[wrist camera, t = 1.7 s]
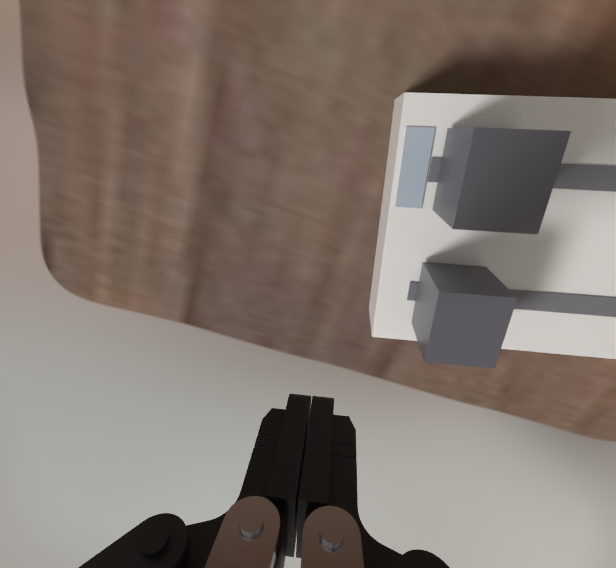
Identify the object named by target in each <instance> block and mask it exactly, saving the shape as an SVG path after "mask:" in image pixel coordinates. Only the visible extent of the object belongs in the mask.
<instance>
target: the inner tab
mask: <svg viewBox="0 0 616 568" xmlns="http://www.w3.org/2000/svg"><path fill="white" fill-rule="evenodd" d="M570 134H571V131H559V130H533V129H507V128H481V127H467V128H448V129H447V134H446V140H445V145H444V150H443V156H442V161H441V166H440V172H439V177H438V182H437V188H436V193H435V199H434V204H433V209H432V210H433V211H434V212H435V213H436V214H437V215H438V216H439V217H441V218H442V219H443V220H444V221H445V222H446V223H447V224H448V225H449V226H450V227H451V228H452V229H458V230H474V231H490V232H506V233H522V234H538V233H539V230H540V227H541V223H542V220H543V217H544V214H545V211H546V208H547V205H548V202H549V199H550V196H551V193H552V189H553V186H554V183H555V180H556V177H557V174H558V171H559V168H560V165H561V162H562V158H563V155H564V152H565V149H566V146H567V143H568V140H569V137H570Z"/></svg>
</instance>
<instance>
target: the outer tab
mask: <svg viewBox="0 0 616 568" xmlns="http://www.w3.org/2000/svg"><path fill="white" fill-rule="evenodd" d="M516 301H517V297H516V296H515V295H514V294H513V293H512V292H511V291H510V290H509V289H508V288H507V287H506V286H505V285H504V284H503V283H502V282H501V281H500V280H499V279H498V278H497V277H496V276H495V275H494V274H493V273H492V272H491V271H490V270H489V269H488V268H487V267H485V266H471V265H457V264H443V263H429V262H423V263H422V268H421V274H420V279H419V284H418V290H417V295H416V300H415V306H414V311H413V317H412V326H413V329H414V332H415V335H416V338H417V341H418V344H419V347H420V350H421V354H422V357H423V360H424V362H433V363H443V364H454V365H464V366H475V367H485V368H495V366H496V363H497V360H498V357H499V353H500V350H501V347H502V344H503V341H504V338H505V335H506V332H507V329H508V326H509V323H510V319H511V316H512V313H513V310H514V307H515V304H516Z"/></svg>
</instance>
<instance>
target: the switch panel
mask: <svg viewBox="0 0 616 568" xmlns="http://www.w3.org/2000/svg"><path fill="white" fill-rule="evenodd" d="M467 127H481V128H507V129H533V130H559V131H571V134H570V137H569V140H568V143H567V146H566V149H565V152H564V155H563V158H562V162H561V165H560V168H559V171H558V174H557V177H556V180H555V183H554V186H553V189H552V193H551V196H550V199H549V202H548V205H547V208H546V211H545V214H544V217H543V220H542V223H541V227H540V230H539V233H538V234H522V233H506V232H490V231H474V230H458V229H452V228H451V227H450V226H449V225H448V224H447V223H446V222H445V221H444V220H443V219H442V218H441V217H439V216H438V215H437V214H436V213H435V212H434V211H433V210H432V209H433V204H434V199H435V193H436V188H437V182H438V177H439V172H440V166H441V161H442V156H443V150H444V145H445V140H446V134H447V129H448V128H467ZM423 262H429V263H443V264H457V265H471V266H485V267H487V268H488V269H489V270H490V271H491V272H492V273H493V274H494V275H495V276H496V277H497V278H498V279H499V280H500V281H501V282H502V283H503V284H504V285H505V286H506V287H507V288H508V289H509V290H510V291H511V292H512V293H513V294H514V295H515V296H516V297H517V301H516V304H515V307H514V310H513V313H512V316H511V319H510V323H509V326H508V329H507V332H506V335H505V338H504V341H503V344H502V347H501V349H511V350H522V351H533V352H544V353H555V354H566V355H577V356H588V357H599V358H610V359H616V99H610V98H577V97H544V96H511V95H477V94H444V93H411V92H404V93H403V94H402V95H400V96H399V97H397V98H396V99H395V102H394V110H393V118H392V126H391V134H390V142H389V150H388V158H387V166H386V174H385V182H384V190H383V198H382V206H381V214H380V222H379V230H378V238H377V246H376V254H375V262H374V270H373V278H372V286H371V295H370V303H369V314H370V324H371V333H372V337H380V338H391V339H402V340H413V341H417V338H416V335H415V332H414V329H413V326H412V317H413V311H414V306H415V300H416V295H417V290H418V284H419V279H420V274H421V268H422V263H423Z"/></svg>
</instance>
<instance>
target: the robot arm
mask: <svg viewBox="0 0 616 568" xmlns="http://www.w3.org/2000/svg"><path fill="white" fill-rule="evenodd" d="M333 407H334V398H326V397H317V396H313V397H312V404H311V396H306V395H297V394H290V395H289V398H288V402H287V406H286V410H284V409H274V408H272V409H271V410H270V411H269V413H268V414H267V415H266V416H265V417H264V418H263V420H262V422H261V426H260V429H259V432H258V436H257V439H256V443H255V447H254V449H253V453H252V456H251V459H250V462H249V466H248V469H247V473H246V476H245V479H244V482H243V486H242V489H241V492H240V495H239V497H238V499H237V501H236V502H235V504H234V505H232V507H231V508H230V509H229V510H228V511H227V512H226V513H225V514H223V515H222V516H220V517H218V518H216V519H213V520H210V521H205V522H201V523H196V524H191V525H187V526H186V525H185V523H184V522H183V520H182V519H181V518H179V517H178V516H176V515H173V514H169V513H164V514H158V515H155V516H152V517H150V518H148V519H146V520H145V521H143V522H142V523H140V524H139V525H138V526H136V527H135V528H133V529H132V530H131V531H129V532H128V533H126V534H125V535H124V536H122V537H121V538H119V539H118V540H117V541H115V542H114V543H112V544H111V545H110V546H108V547H107V548H105V549H104V550H103V551H101V552H100V553H98V554H97V555H96V556H94V557H93V558H91V559H90V560H89V561H87V562H86V563H84V564H83V565H82V566H80V567H79V568H284V562H285V556H290V557H293V556H294V550H295V542H296V535H297V548H296V549H297V551H296V557H298V558H301V568H449V567H448V566H447V565H446V564H445V562H443V561H442V560H441V559H440V558H439V557H437V556H436V555H434V554H432V553H430V552H428V551H424V550H411V551H408V552H406V553H405V554H403V555H401V554H399V553H397V552H396V551H394V550H391V549H390V548H388V547H386V546H384V545H382V544H380V543H379V542H377V541H376V540H375V539H373V538H372V537H371V536H370V535H369V534H368V532H367V531H366V530H365V529H364V527H363V525H362V523H361V521H360V518H359V514H358V507H357V467H356V430H355V428H354V426H353V424H352V422H351V420H350V418H349V416H340V415H333ZM310 409H311V411H310Z"/></svg>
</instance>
